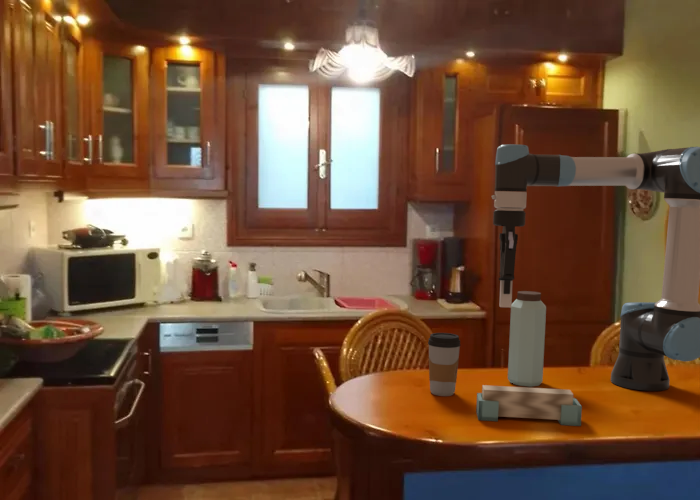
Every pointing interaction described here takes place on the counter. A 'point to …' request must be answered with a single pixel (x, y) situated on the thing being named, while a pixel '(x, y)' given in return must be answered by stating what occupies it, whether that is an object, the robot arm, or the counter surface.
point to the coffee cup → (443, 363)
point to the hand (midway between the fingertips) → (505, 306)
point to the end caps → (490, 408)
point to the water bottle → (527, 339)
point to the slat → (528, 401)
